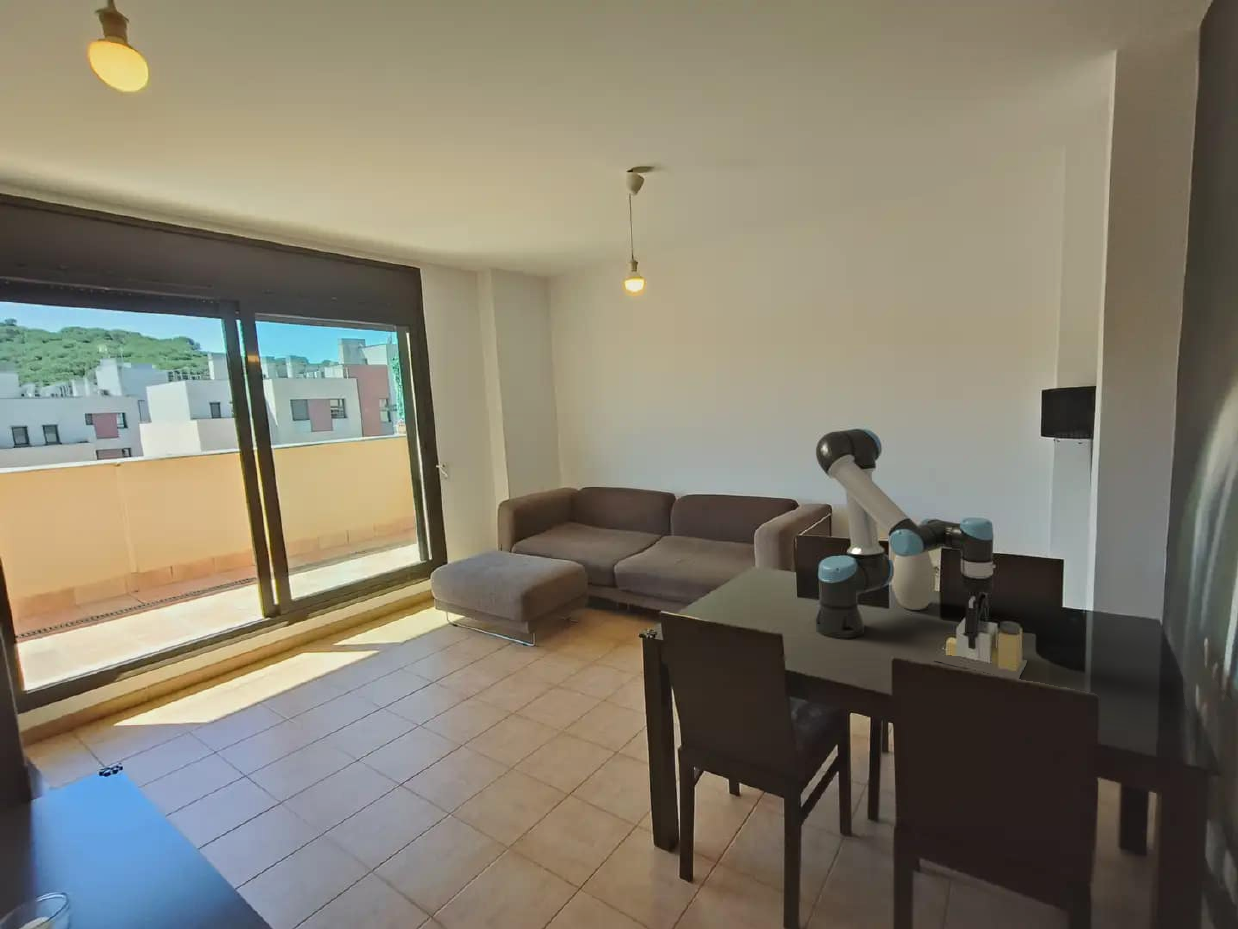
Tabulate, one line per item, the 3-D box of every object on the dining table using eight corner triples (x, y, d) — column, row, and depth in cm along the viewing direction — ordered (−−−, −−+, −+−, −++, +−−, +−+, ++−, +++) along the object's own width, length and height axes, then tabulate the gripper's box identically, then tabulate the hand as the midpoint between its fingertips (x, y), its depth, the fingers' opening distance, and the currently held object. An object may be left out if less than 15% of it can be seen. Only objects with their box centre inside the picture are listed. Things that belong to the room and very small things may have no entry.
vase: (943, 607, 200) (942, 523, 197) (922, 618, 192) (921, 530, 189) (905, 597, 211) (903, 518, 208) (883, 607, 204) (882, 524, 201)
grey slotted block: (956, 655, 160) (956, 628, 159) (964, 644, 167) (964, 617, 166) (990, 663, 155) (990, 634, 154) (997, 651, 161) (997, 623, 160)
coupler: (944, 658, 163) (943, 617, 162) (952, 648, 169) (951, 608, 167) (1016, 675, 151) (1017, 631, 150) (1022, 663, 157) (1022, 621, 156)
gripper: (983, 587, 148) (983, 671, 150) (1001, 566, 163) (1001, 642, 166) (950, 583, 153) (951, 663, 156) (971, 562, 169) (971, 636, 171)
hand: (977, 652), depth 161 cm, fingers closed on grey slotted block, 9 cm apart
